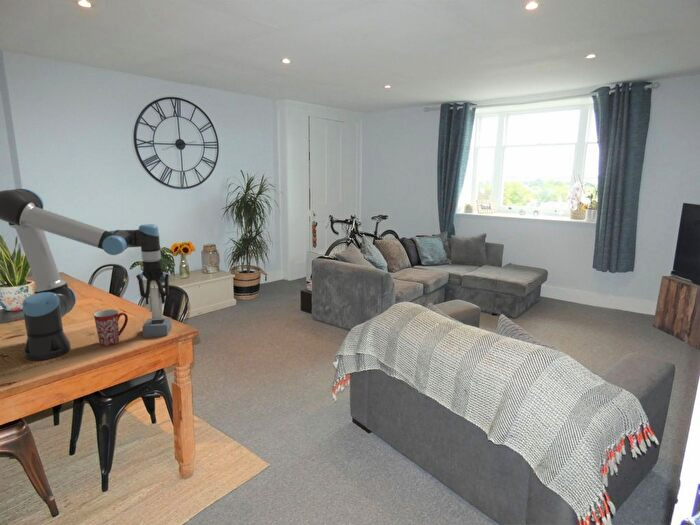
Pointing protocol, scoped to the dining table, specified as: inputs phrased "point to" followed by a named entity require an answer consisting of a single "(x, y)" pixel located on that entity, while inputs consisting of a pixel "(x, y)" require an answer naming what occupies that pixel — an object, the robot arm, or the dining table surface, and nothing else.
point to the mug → (108, 326)
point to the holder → (157, 327)
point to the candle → (155, 303)
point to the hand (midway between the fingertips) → (156, 310)
